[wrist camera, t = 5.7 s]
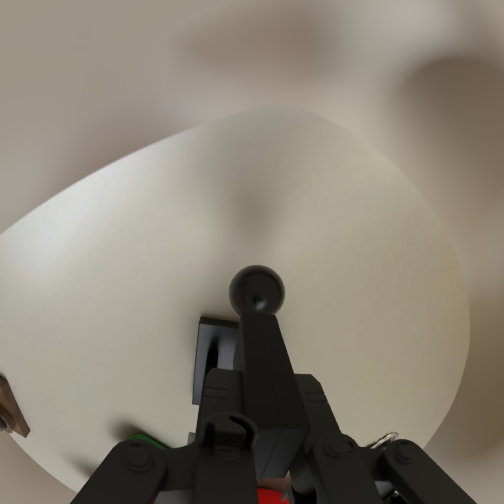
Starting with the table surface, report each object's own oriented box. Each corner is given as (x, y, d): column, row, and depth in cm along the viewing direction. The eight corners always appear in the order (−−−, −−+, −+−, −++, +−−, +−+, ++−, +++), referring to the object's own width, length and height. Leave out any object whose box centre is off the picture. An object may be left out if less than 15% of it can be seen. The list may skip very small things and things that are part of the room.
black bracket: (200, 316, 23) (176, 412, 12) (278, 326, 24) (307, 423, 13) (193, 397, 26) (178, 488, 14) (258, 404, 26) (269, 495, 15)
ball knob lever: (232, 261, 17) (233, 260, 14) (282, 268, 17) (295, 270, 14) (208, 445, 16) (206, 471, 13) (250, 449, 17) (254, 474, 14)
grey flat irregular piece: (344, 460, 30) (348, 469, 29) (383, 428, 29) (388, 437, 27) (370, 464, 32) (373, 471, 30) (405, 434, 30) (410, 442, 28)
